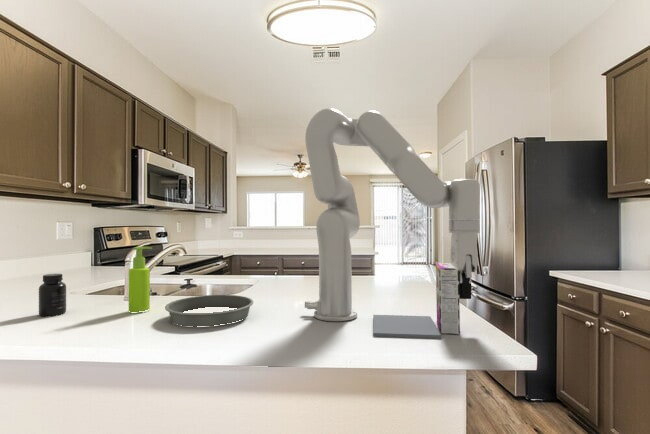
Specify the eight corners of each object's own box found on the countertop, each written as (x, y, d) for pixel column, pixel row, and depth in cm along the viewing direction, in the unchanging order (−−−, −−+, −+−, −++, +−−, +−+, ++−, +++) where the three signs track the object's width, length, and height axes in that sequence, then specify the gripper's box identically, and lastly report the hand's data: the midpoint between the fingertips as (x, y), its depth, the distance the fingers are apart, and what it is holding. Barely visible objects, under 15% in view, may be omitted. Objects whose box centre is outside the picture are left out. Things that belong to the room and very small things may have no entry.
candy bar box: (435, 322, 106) (435, 262, 106) (454, 323, 105) (454, 262, 105) (439, 334, 95) (438, 267, 95) (460, 335, 94) (460, 268, 94)
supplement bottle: (33, 315, 114) (33, 275, 114) (56, 310, 120) (56, 272, 120) (48, 318, 112) (48, 276, 112) (71, 312, 118) (71, 273, 118)
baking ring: (144, 326, 103) (144, 309, 103) (198, 306, 127) (198, 292, 127) (226, 333, 97) (226, 315, 97) (267, 311, 120) (267, 296, 120)
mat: (373, 336, 93) (373, 332, 93) (373, 317, 111) (373, 314, 111) (441, 338, 91) (441, 335, 91) (430, 319, 109) (430, 316, 109)
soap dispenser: (156, 309, 121) (156, 246, 121) (135, 314, 115) (135, 247, 116) (145, 307, 124) (145, 245, 125) (124, 311, 119) (124, 247, 119)
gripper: (443, 226, 107) (443, 292, 107) (455, 227, 92) (455, 304, 92) (471, 226, 106) (471, 293, 106) (487, 228, 91) (487, 305, 91)
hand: (464, 298), depth 99 cm, fingers closed
